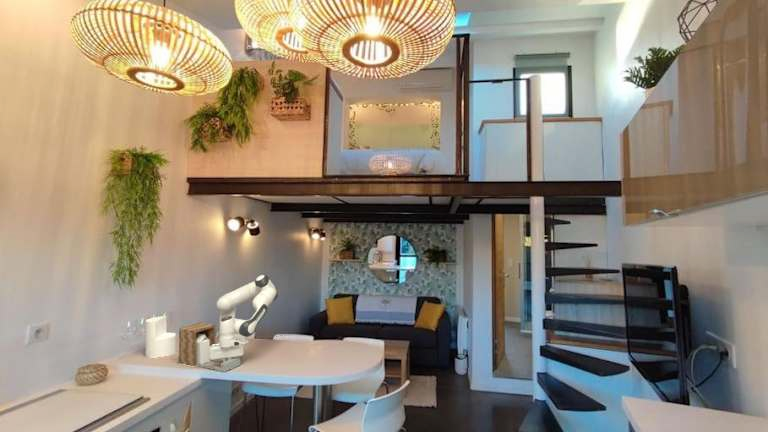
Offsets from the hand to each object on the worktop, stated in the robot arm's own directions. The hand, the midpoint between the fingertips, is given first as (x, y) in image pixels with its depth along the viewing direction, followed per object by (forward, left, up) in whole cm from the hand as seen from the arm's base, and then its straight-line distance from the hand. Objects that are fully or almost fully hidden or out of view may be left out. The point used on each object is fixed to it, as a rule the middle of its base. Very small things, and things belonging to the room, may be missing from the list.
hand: (226, 364), depth 239 cm
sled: (+3, -11, -2) cm, 11 cm away
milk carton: (+6, -21, -2) cm, 22 cm away
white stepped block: (+16, -64, -2) cm, 66 cm away
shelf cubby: (+7, -26, -2) cm, 27 cm away
